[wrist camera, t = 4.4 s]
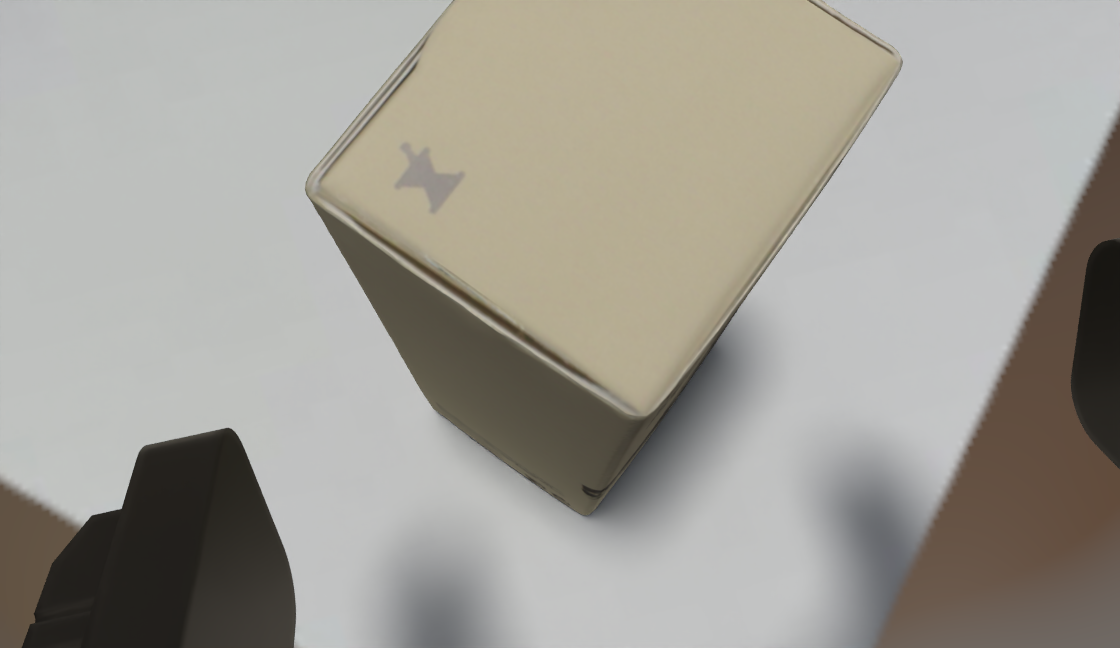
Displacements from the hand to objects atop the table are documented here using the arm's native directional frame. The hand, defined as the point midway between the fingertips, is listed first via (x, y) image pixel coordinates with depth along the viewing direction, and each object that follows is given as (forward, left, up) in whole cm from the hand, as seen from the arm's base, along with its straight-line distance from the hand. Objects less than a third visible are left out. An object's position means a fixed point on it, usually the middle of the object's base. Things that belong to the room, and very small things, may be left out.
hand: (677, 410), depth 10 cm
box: (0, +3, -13) cm, 13 cm away
